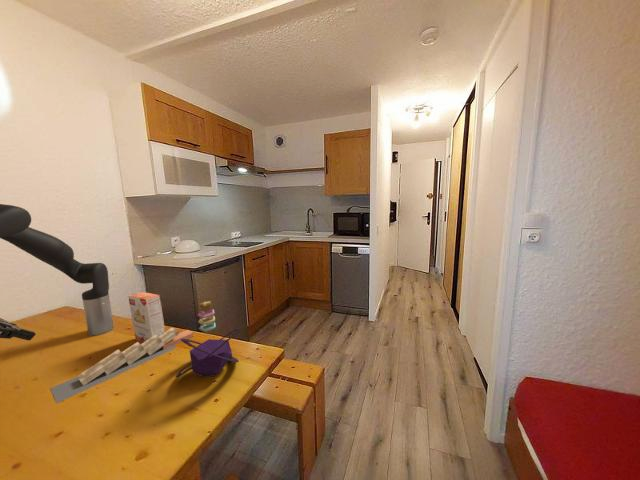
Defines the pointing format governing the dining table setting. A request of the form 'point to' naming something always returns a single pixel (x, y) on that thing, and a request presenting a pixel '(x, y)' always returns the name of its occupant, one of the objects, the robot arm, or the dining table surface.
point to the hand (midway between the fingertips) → (32, 336)
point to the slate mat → (100, 377)
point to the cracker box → (146, 315)
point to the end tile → (178, 339)
